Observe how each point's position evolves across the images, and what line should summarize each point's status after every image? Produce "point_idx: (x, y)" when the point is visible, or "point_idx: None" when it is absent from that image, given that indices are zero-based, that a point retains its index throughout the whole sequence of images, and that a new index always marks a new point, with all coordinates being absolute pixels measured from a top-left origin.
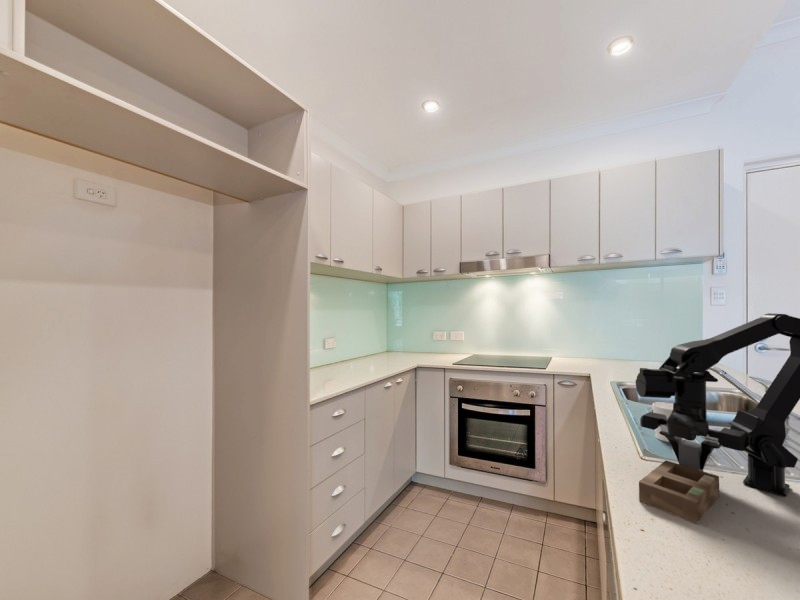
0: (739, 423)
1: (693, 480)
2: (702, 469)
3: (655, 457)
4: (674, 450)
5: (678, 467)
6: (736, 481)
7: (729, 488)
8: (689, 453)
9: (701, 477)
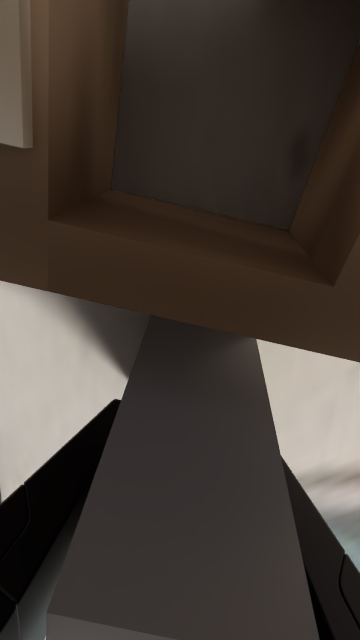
0: None
1: (167, 220)
2: (113, 401)
3: (348, 512)
4: (327, 535)
5: (294, 272)
6: (22, 443)
7: (23, 355)
8: (183, 509)
9: (93, 218)
